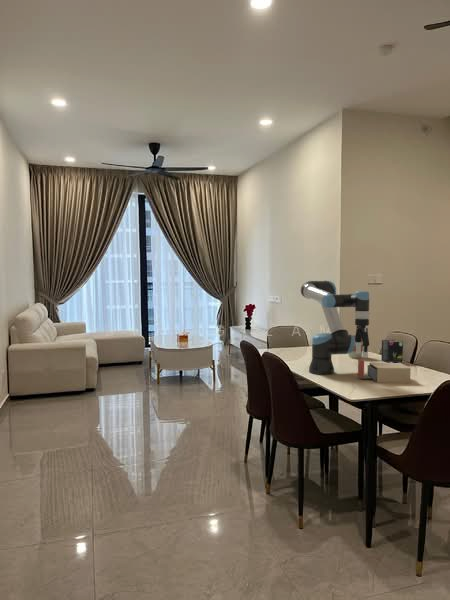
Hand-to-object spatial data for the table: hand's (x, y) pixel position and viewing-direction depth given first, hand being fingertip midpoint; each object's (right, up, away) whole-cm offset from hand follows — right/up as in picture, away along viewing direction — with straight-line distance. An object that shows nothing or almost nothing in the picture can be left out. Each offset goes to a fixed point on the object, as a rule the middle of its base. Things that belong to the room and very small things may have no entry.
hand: (361, 355), depth 251 cm
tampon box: (+37, -11, +53) cm, 66 cm away
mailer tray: (+10, -13, +1) cm, 16 cm away
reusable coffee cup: (+17, -10, +70) cm, 72 cm away
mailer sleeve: (+16, -14, +1) cm, 21 cm away
